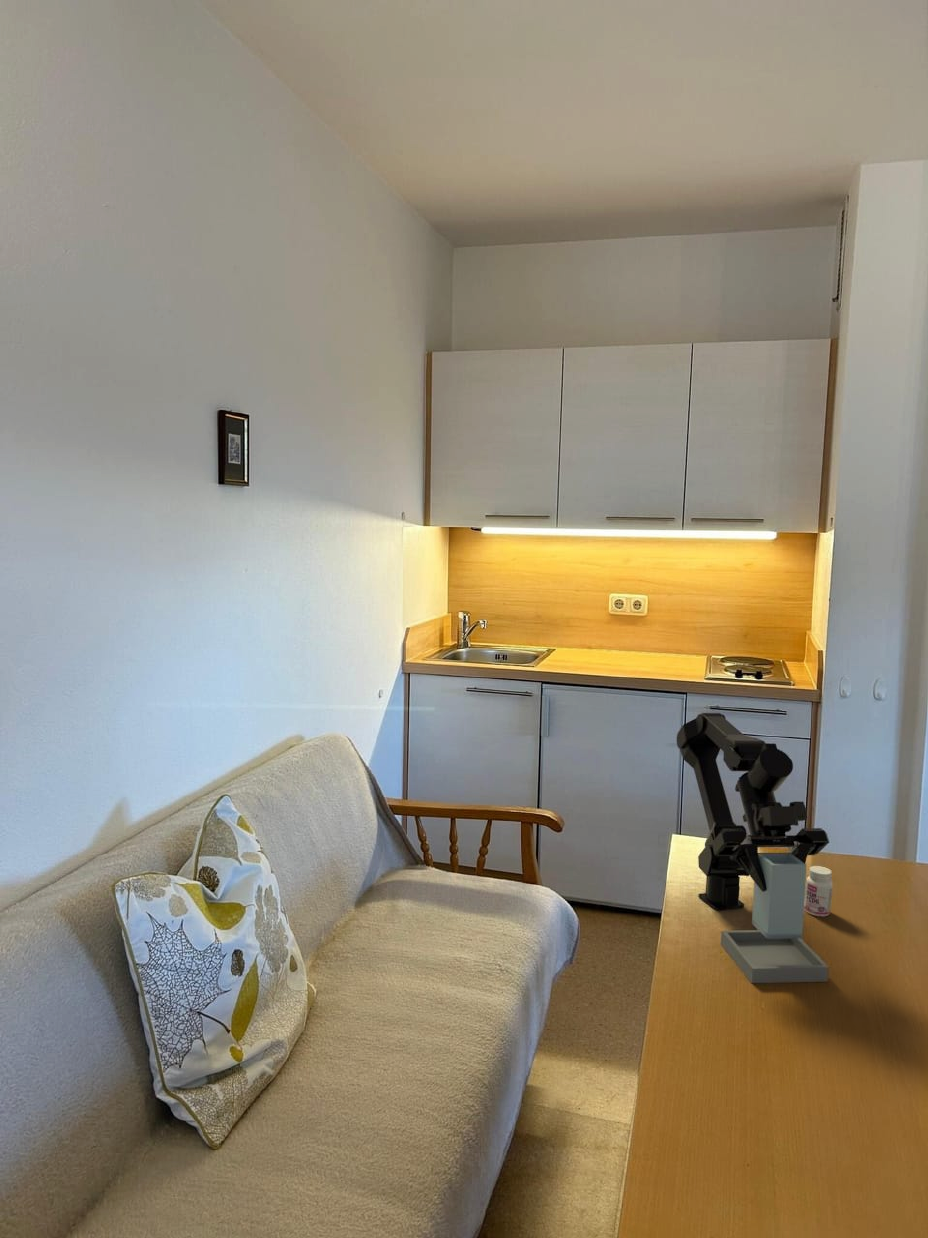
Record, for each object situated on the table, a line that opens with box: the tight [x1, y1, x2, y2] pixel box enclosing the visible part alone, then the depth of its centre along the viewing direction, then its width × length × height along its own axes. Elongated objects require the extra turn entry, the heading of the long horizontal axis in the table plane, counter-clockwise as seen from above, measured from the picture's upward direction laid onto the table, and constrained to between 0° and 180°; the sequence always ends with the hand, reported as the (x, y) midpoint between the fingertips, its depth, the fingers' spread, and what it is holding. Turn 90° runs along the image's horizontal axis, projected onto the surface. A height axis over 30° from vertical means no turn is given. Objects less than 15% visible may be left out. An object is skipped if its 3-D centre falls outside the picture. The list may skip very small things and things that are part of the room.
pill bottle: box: [804, 865, 834, 918], centre depth 173 cm, size 5×5×8 cm
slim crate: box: [751, 852, 808, 939], centre depth 152 cm, size 6×6×12 cm
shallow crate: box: [720, 929, 830, 984], centre depth 153 cm, size 13×13×2 cm
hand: (782, 890), depth 150 cm, fingers closed on slim crate, 6 cm apart
